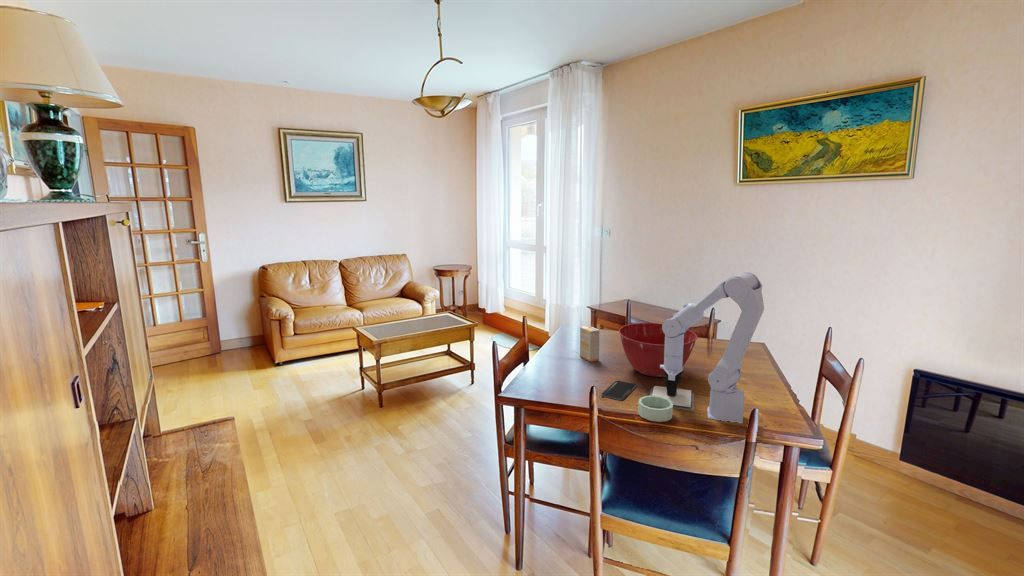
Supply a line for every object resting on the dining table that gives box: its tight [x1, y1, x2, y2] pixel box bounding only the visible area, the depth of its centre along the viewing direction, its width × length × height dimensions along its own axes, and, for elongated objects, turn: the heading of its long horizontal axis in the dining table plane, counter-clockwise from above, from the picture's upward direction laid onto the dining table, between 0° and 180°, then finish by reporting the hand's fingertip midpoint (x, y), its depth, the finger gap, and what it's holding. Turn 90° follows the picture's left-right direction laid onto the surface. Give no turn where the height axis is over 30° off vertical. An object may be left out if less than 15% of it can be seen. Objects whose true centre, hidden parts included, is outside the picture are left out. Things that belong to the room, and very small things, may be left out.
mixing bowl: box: [618, 322, 698, 378], centre depth 178 cm, size 28×28×15 cm
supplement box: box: [579, 325, 601, 363], centre depth 194 cm, size 8×5×13 cm, turn 22°
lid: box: [652, 385, 692, 407], centre depth 154 cm, size 12×12×4 cm
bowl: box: [637, 395, 674, 423], centre depth 143 cm, size 10×10×4 cm
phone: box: [601, 380, 638, 402], centre depth 161 cm, size 8×1×15 cm
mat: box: [648, 387, 695, 412], centre depth 154 cm, size 14×14×1 cm
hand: (671, 393), depth 154 cm, fingers closed on lid, 3 cm apart
